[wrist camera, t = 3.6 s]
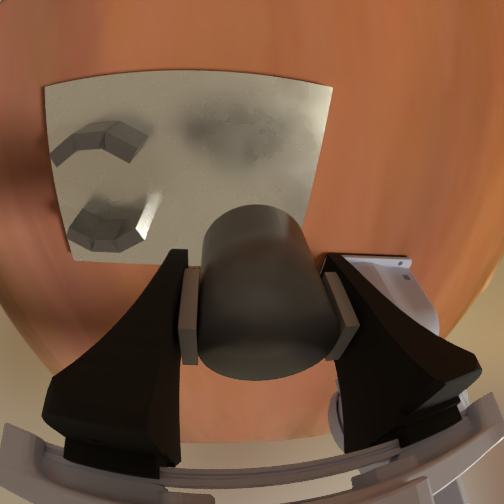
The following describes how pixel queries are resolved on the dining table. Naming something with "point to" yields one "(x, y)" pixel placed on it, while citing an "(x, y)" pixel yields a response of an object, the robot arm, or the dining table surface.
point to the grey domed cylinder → (261, 300)
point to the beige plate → (177, 156)
